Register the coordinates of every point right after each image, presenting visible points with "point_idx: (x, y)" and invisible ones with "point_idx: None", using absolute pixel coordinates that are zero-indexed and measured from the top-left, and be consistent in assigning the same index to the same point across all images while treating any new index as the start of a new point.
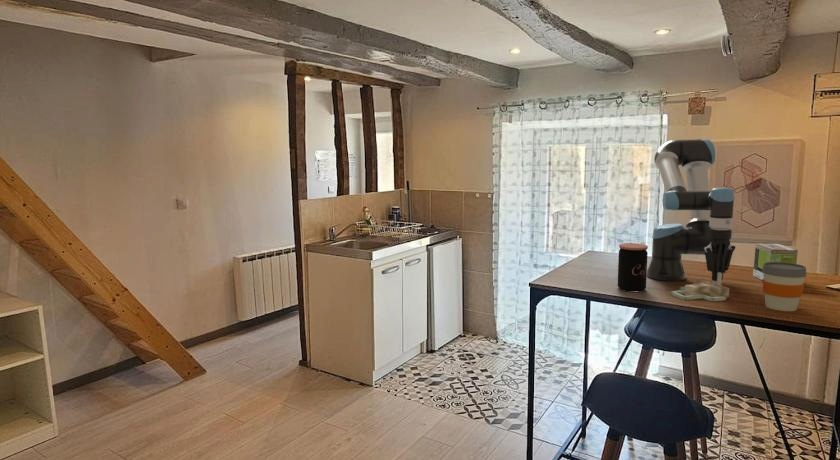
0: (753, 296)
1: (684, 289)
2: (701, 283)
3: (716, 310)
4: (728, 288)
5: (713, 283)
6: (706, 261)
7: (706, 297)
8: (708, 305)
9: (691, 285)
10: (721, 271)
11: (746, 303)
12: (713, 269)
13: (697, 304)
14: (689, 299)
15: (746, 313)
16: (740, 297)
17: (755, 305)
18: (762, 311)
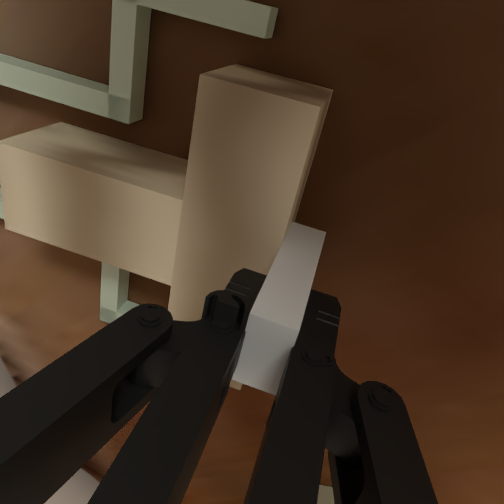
0: (450, 412)
1: (115, 49)
2: (165, 196)
3: (24, 374)
4: (232, 384)
5: (264, 261)
6: (20, 390)
7: (105, 276)
8: (42, 325)
9: (33, 185)
10: (275, 403)
11: (248, 423)
12: (135, 388)
13: (2, 285)
14: None
15: (107, 455)
16: (348, 371)
17: (253, 456)
18: (190, 487)
